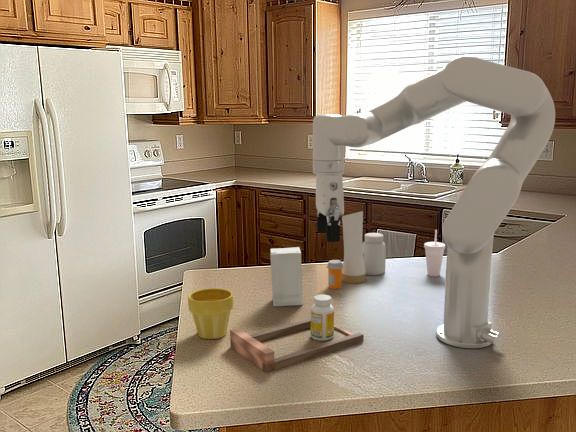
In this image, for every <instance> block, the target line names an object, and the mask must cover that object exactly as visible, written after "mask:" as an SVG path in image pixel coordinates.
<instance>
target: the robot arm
mask: <svg viewBox="0 0 576 432" xmlns="http://www.w3.org/2000/svg"><path fill="white" fill-rule="evenodd" d="M465 102H468V103H471V104H474V105H478V106H480V107H484V108H487V109H490V110H494V111H497V112H500V113H503V114H504V113H505V114H507V115H510V122H509V124H508V126H507V128H506V130H505V131H504V132H503V134H502V135H501V138H500V140H499V141H498V143H497V144H496V146H495V147H494V148H493V150H492V152H491V153H490V155H489V156H488V158H487V159H486V160H485V161H484V162H483V164H482V165H481V166H480V167H478V169H477V170H476V171H475V172H474V173H473V175H472V177H471V179H470V180H469V182H468V183H467V184H466V186H465V188H464V190H462V192H461V194H460V196H459V198H458V199H457V200H456V202H455V204H454V206H453V207H452V208H451V210H450V211H449V213H448V215H447V216H446V218H445V220H444V221H443V223H442V224H443V225H442V229H441V230H442V234H441V235H442V238H443V240H444V242H445V243H444V244H445V245H446V246H447V248H446V249H447V250H446V262H445V263H446V264H445V265H446V267H445V282H444V283H445V284H444V306H443V324H441V325H438V327H437V328H436V330H435V333H436V334H435V335H436V338H438V340H439V341H441V342H443V343H444V344H446V345H449V346H453V347H457V348H462V349H482V348H486V347H488V346H491V345H492V344H493V345H495V346H496V345H498V344H499V342H500V338H501V336H502V334H501V333H500V332H498V331H496V330H495V331H494V330H493V329H492V324H493V323H492V322H490V321H489V320H488V318H489V303H490V285H491V273H492V258H493V257H492V256H493V246H494V235H495V232H496V231H497V230H498V228H499V226H500V225H501V223H502V222H503V221H504V219H505V218H506V217H507V215H508V214H509V212H510V210H511V209H512V207H514V205H515V203H516V201H517V199H518V198H519V195H520V193H521V190H522V186H523V184H524V182H525V180H526V179H527V177H528V175H529V173H531V170H532V169H533V167H534V166H535V164H536V163H537V161H538V160H539V158H540V157H541V154H542V153H543V151H544V149H545V148H546V146H547V144H548V143H549V141H550V139H551V136H552V134H553V131H554V127H555V123H556V107H555V103H554V100H553V97H552V95H551V93H550V91H549V89H548V87H547V86H546V84H545V82H544V81H543V80H542V78H541V77H540V76H539V75H537V74H536V73H533V72H531V71H528V70H524V69H520V68H516V67H513V66H508V65H504V64H501V63H498V62H497V63H496V62H493V61H489V60H486V59H483V58H480V57H478V56H474V55H469V54H464V55H463V54H462V55H459V56H456V57H454V58H453V59H451V60H450V61H449V62H448V63H447V64H446V65H445V66H444V67H442V68H440V69H438V70H437V71H434V72H432V73H430V74H428V75H426V76H424V77H423V78H420V79H418V80H416V81H415V82H414V81H413V82H412V83H410V84H408V85H406V86H405V87H404V88H403V89H402V90H401V92H400V93H399V94H398V95H397V96H396V95H395V97H393V98H392V99H390V100H388V101H387V102H385V103H383V104H380V105H379V106H377V107H375V108H373V109H371V110H369V111H367V112H363V113H362V112H361V113H355V114H354V113H353V114H348V115H341V114H335V113H334V114H333V113H332V114H330V113H329V114H328V113H327V114H326V113H325V114H317V115H315V116H314V118H313V119H312V120H313V121H312V174H314V175H316V177H315V178H316V179H315V209H316V210H317V212H316V231H317V234H321V233H324V234H326V235H325V240H326V242H327V243H339V242H340V241H341V217H340V216H344V213H345V199H344V198H345V197H344V194H345V193H344V183H343V182H344V180H343V174H345V151H346V150H345V147H349V148H363V147H365V146H369V145H373V144H375V143H377V142H379V141H381V140H384V139H386V138H388V137H390V136H393V135H395V134H396V133H398V132H401V131H403V130H405V129H406V128H409V127H411V126H414V125H418V124H421V123H422V122H424V121H427V120H429V119H431V118H433V117H435V116H437V115H439V114H441V113H443V112H446V111H448V110H450V109H453V108H454V107H457V106H459V105H461V104H463V103H465Z"/></svg>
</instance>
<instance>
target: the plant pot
mask: <svg viewBox="0 0 576 432" xmlns="http://www.w3.org/2000/svg"><path fill="white" fill-rule="evenodd" d="M187 299H188V300H187V303H188V310H189V312H190V313H191V314H192V317H193V321H194V325H195V328H196V333H197V336H199V338H201V339H204V340H217V339H220V338H223V337H224V336H226V335H227V331H228V326H229V320H230V315H231V311H232V310H233V307H234V293H233V292H232V291H231V290H229V289H226V288H218V287H210V288H201V289H198V290H195V291H192V292H190V293H189V294H188V297H187Z"/></svg>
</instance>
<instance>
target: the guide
mask: <svg viewBox="0 0 576 432" xmlns="http://www.w3.org/2000/svg"><path fill="white" fill-rule="evenodd" d="M306 329H311V317H310V318H307V319H303V320H302V319H301V320H299V321H296V322H292V323H288V324H285V325H281V326H277V327H274V328H270V329H266V330H263V331H259V332H255V333H252V334H251V333H250V334H249V333H246V332H245V331H243V330H242V329H241V328H238V327H236V328H232V329H229V334H230V335H229V336H230V337H229V339H230V340H229V341H230V342H229V343H230V348H231V349H233V350H234V351H235V352H237V353H238V354H240V355H241V356H243V357H244V358H245V359H247V360H248V361H250V362H251V363H253V364H254V365H255V366H257V367H258V368H259V369H261V370H262V371H264V372H265V373H269V372H272V371H276V370H277V369H283V368H285V367H287V366H291V365H293V364H297V363H300V362H303V361H306V360H308V359H313V358H315V357H319V356H321V355H324V354H327V353H331V352H334V351H337V350H341V349H343V348H347V347H350V346H353V345H355V344H358V343H363V342H364V337H365V336H364V334H363V333H361V332H356V333H352V332H350V331H348V330H346V329H344V328H342V327H340V326H338V325H336V324H334V330H336V331H338V332H339V333H343V334H344V335H346V336H344V337H340V338H337V339H333V340H331V341H327V342H324V343H320V344H318V345H314V346H311V347H308V348H304V349H301V350H298V351H295V352H291V353H288V354H285V355H282V356H279V357H275V351H274V350H273V349H272V348H270V347H268V346H266V345H265V344H264V343H262V342H264V341H268V340H271V339H274V338H278V337H281V336H286V335H289V334H293V333H296V332H299V331H302V330H306Z"/></svg>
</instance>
